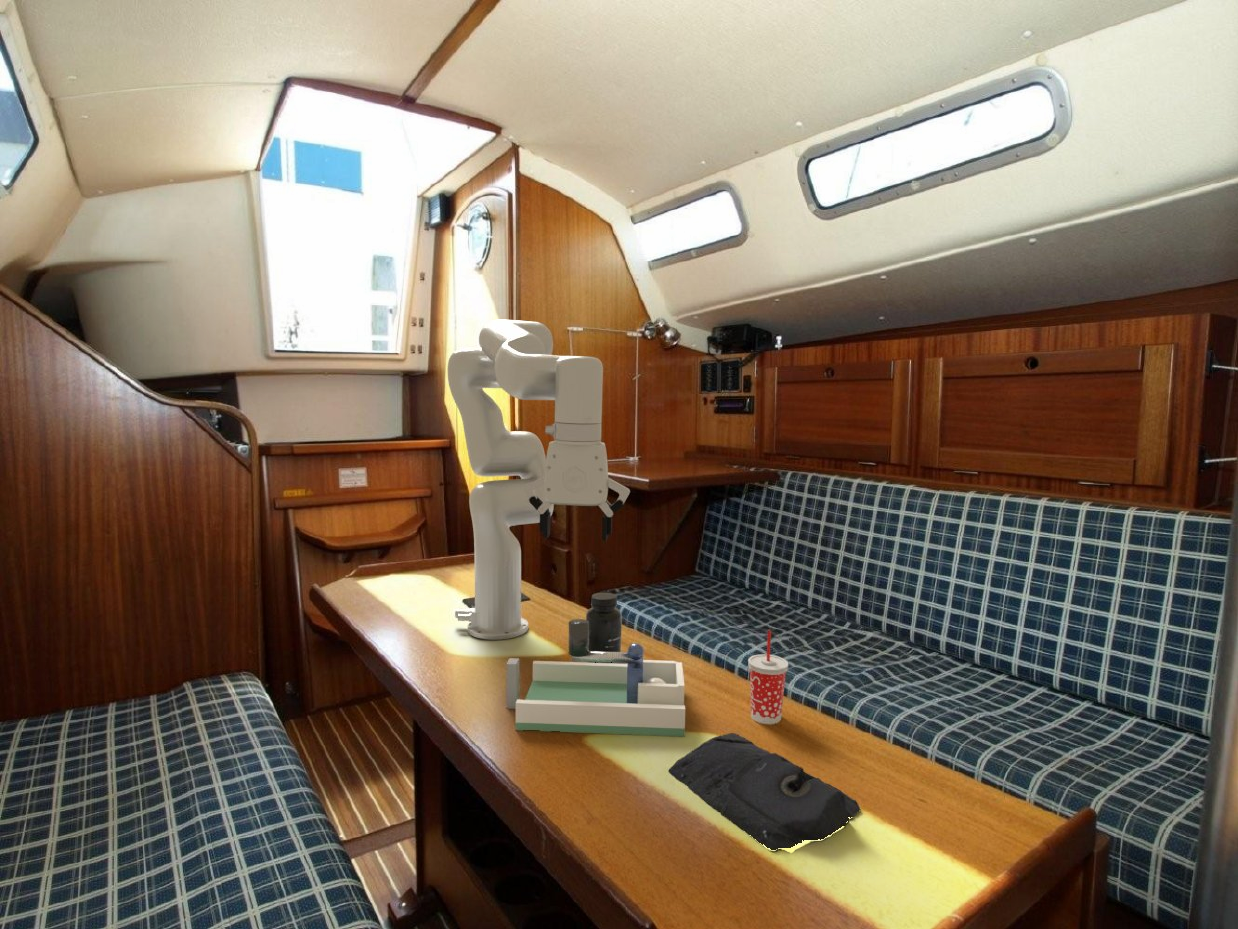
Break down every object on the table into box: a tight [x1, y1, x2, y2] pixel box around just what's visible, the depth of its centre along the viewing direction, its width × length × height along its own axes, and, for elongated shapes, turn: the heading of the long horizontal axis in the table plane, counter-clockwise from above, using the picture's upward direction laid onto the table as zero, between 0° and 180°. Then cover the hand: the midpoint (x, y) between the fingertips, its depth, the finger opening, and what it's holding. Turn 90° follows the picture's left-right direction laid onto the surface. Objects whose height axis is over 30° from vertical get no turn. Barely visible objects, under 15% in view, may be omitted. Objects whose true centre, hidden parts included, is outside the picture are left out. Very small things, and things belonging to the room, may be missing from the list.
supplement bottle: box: [585, 592, 623, 663], centre depth 129 cm, size 7×7×12 cm
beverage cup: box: [747, 629, 789, 725], centre depth 106 cm, size 6×6×14 cm
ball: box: [646, 678, 666, 684], centre depth 108 cm, size 4×4×4 cm
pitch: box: [505, 657, 686, 737], centre depth 108 cm, size 28×16×7 cm, turn 87°
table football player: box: [568, 618, 645, 704], centre depth 108 cm, size 12×6×12 cm, turn 87°
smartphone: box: [462, 592, 531, 609], centre depth 164 cm, size 7×1×15 cm
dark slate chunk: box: [668, 732, 861, 850], centre depth 87 cm, size 15×22×5 cm
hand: (575, 537), depth 112 cm, fingers open, 9 cm apart
